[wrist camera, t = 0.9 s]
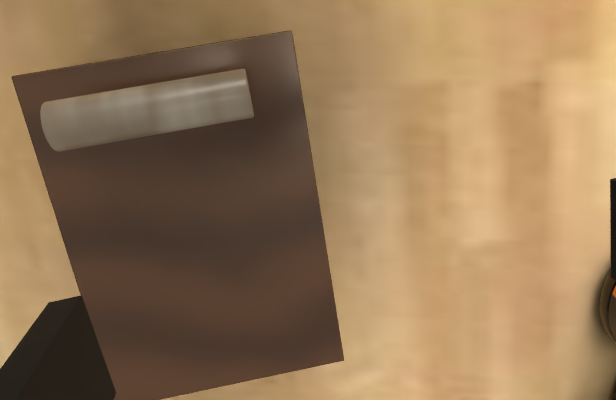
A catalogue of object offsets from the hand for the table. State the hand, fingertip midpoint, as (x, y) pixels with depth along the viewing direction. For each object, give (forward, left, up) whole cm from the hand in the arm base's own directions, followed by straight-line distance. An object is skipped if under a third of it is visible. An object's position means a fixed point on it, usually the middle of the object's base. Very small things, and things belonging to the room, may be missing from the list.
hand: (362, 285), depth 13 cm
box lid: (+3, -6, -15) cm, 17 cm away
